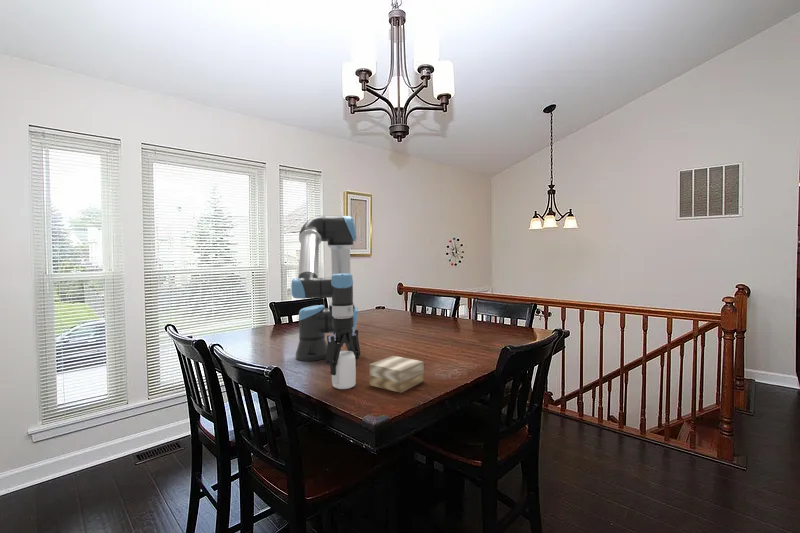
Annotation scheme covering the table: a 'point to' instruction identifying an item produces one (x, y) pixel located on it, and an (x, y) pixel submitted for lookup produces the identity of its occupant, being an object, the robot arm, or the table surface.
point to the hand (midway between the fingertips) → (344, 379)
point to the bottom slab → (396, 383)
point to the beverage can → (346, 370)
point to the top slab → (396, 368)
